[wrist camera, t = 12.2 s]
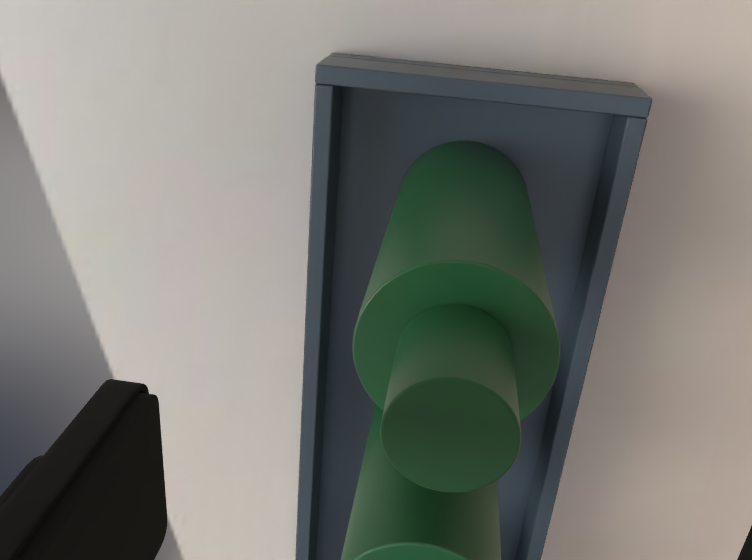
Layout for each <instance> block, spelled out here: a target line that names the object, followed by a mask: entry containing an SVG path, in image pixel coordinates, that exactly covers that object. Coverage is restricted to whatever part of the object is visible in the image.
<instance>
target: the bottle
mask: <svg viewBox="0 0 752 560" xmlns="http://www.w3.org/2000/svg"><path fill="white" fill-rule="evenodd" d="M382 415H383V410H382V409H381V408H380V407H379V406H377V405H376V403H375V407H374V412H373V416H372V421H371V425H370V430H369V435H368V439H367V444H366V448H365V453H364V457H363V462H362V466H361V471H360V475H359V480H358V484H357V489H356V493H355V498H354V502H353V507H352V511H351V516H350V520H349V525H348V529H347V534H346V538H345V543H344V547H343V552H342V556H341V560H501V544H500V520H499V496H498V480H496V481H495V482H493V483H492V484H489V485H487V486H485V487H483V488H480V489H477V490H473V491H468V492H459V493H450V492H441V491H436V490H431V489H428V488H425V487H423V486H420V485H418V484H416V483H414V482H412V481H411V480H409V479H408V478H406V477H405V476H403V475H402V474H401V473H400V472H399V471H398V470H397V469H396V468H395V467H394V466H393V465H392V463H391V462H390V460H389V459H388V457H387V455H386V453H385V451H384V449H383V445H382V442H381V436H380V426H381V420H382Z"/></svg>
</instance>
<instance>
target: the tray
mask: <svg viewBox="0 0 752 560" xmlns="http://www.w3.org/2000/svg"><path fill="white" fill-rule="evenodd" d="M315 82H316V83H317V84H316V85H315V100H314V124H313V149H312V173H311V197H310V221H309V245H308V270H307V294H306V318H305V342H304V367H303V391H302V415H301V439H300V464H299V488H298V512H297V536H296V560H341V556H342V552H343V547H344V543H345V538H346V534H347V529H348V525H349V520H350V516H351V511H352V507H353V502H354V498H355V493H356V489H357V484H358V480H359V475H360V471H361V466H362V462H363V457H364V453H365V448H366V444H367V439H368V435H369V430H370V425H371V421H372V416H373V412H374V407H375V402H374V401H373V400H372V399H371V397H370V396H369V395H368V393H367V392H366V390H365V388H364V387H363V385H362V383H361V381H360V379H359V376H358V374H357V371H356V367H355V364H354V358H353V335H354V329H355V325H356V322H357V319H358V316H359V313H360V309H361V306H362V303H363V300H364V297H365V294H366V291H367V288H368V285H369V282H370V278H371V275H372V272H373V269H374V266H375V263H376V260H377V257H378V254H379V250H380V247H381V244H382V241H383V238H384V235H385V232H386V229H387V226H388V222H389V219H390V216H391V213H392V210H393V207H394V204H395V201H396V198H397V195H398V191H399V188H400V185H401V182H402V180H403V178H404V176H405V174H406V172H407V171H408V169H409V167H410V166H411V165H412V164H413V163H414V162H415V160H417V159H418V158H419V157H420V156H421V155H422V154H424V153H425V152H427V151H428V150H430V149H432V148H434V147H436V146H438V145H441V144H444V143H448V142H453V141H473V142H479V143H482V144H486V145H489V146H491V147H493V148H495V149H497V150H498V151H500V152H502V153H503V154H504V155H506V156H507V157H508V158H509V159H510V160H511V161H512V162H513V163H514V164H515V165H516V167H517V168H518V170H519V171H520V173H521V175H522V177H523V179H524V181H525V185H526V188H527V192H528V197H529V201H530V206H531V211H532V215H533V220H534V225H535V229H536V234H537V239H538V243H539V248H540V252H541V257H542V262H543V266H544V271H545V276H546V280H547V285H548V290H549V294H550V299H551V304H552V308H553V313H554V317H555V322H556V327H557V331H558V337H559V343H560V359H559V366H558V370H557V374H556V377H555V380H554V382H553V384H552V386H551V388H550V390H549V392H548V393H547V395H546V396H545V398H544V399H543V401H542V402H541V403H540V404H539V405H538V406H537V408H536V409H535V410H534V411H532V412H531V413H530V414H529V415H528V416H527V417H525V418H524V419H522V420H521V421H520V427H521V445H520V449H519V453H518V455H517V457H516V460H515V461H514V463H513V464H512V466H511V467H510V469H509V470H508V471H507V472H506V473H505V474H504V475H503V476H502V477H500V478H499V479H498V496H499V520H500V544H501V560H541V556H542V552H543V548H544V543H545V539H546V535H547V531H548V527H549V523H550V519H551V515H552V511H553V506H554V502H555V498H556V494H557V490H558V486H559V482H560V478H561V473H562V469H563V465H564V461H565V457H566V453H567V449H568V445H569V441H570V436H571V432H572V428H573V424H574V420H575V416H576V412H577V408H578V403H579V399H580V395H581V391H582V387H583V383H584V379H585V375H586V370H587V366H588V362H589V358H590V354H591V350H592V346H593V342H594V338H595V333H596V329H597V325H598V321H599V317H600V313H601V309H602V305H603V300H604V296H605V292H606V288H607V284H608V280H609V276H610V272H611V267H612V263H613V259H614V255H615V251H616V247H617V243H618V239H619V235H620V230H621V226H622V222H623V218H624V214H625V210H626V206H627V202H628V197H629V193H630V189H631V185H632V181H633V177H634V173H635V169H636V165H637V160H638V156H639V152H640V148H641V144H642V140H643V136H644V132H645V127H646V123H647V119H646V118H647V117H648V115H649V111H650V107H651V103H652V98H650V97H649V96H648V95H647V94H646V93H644V92H643V91H642V90H641V89H640V88H638V87H637V86H636V85H635V84H634V83H628V82H618V81H608V80H598V79H588V78H578V77H568V76H558V75H548V74H538V73H528V72H519V71H509V70H499V69H489V68H479V67H469V66H459V65H449V64H439V63H429V62H419V61H409V60H399V59H389V58H379V57H369V56H359V55H349V54H339V53H332V54H330V55H329V56H328V57H326V58H325V59H324V60H322V61H321V62H319V63H318V64H317V65H316V74H315Z"/></svg>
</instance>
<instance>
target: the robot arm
mask: <svg viewBox="0 0 752 560" xmlns="http://www.w3.org/2000/svg"><path fill="white" fill-rule="evenodd" d="M166 528H167V509H166V496H165V482H164V469H163V455H162V441H161V428H160V414H159V402H158V398H157V396H156V395H153V394H149V392H148V388H147V386H146V385H145V384H141V383H134V382H127V381H120V380H113V379H110V380H107V381H106V382H105V383H103V385H102V386H101V387H100V388H99V389H98V391H97V392H96V393H95V394H94V395H93V397H92V398H91V399H90V400H89V401H88V403H87V404H86V405H85V406H84V408H83V409H82V410H81V411H80V412H79V414H78V415H77V416H76V417H75V418H74V420H73V421H72V422H71V423H70V424H69V426H68V427H67V428H66V429H65V431H64V432H63V433H62V434H61V435H60V436H59V438H58V439H57V440H56V441H55V443H54V444H53V445H52V446H51V447H50V449H49V450H48V451H47V452H46V453H45V455H44V456H39V457H36V458H34V459H33V460H32V461H31V462H30V463H29V464H27V466H26V467H25V468H24V469H23V470H22V471H21V472H20V474H19V475H18V476H17V477H16V479H15V480H14V481H13V482H12V483H11V484H10V486H9V487H8V488H7V489H6V490H5V491H4V493H3V494H2V495H1V496H0V560H154V559H155V557H156V555H157V553H158V551H159V549H160V547H161V545H162V543H163V540H164V537H165V534H166ZM738 560H752V526H751V529H750V531H749V533H748V536H747V538H746V541H745V543H744V545H743V548H742V550H741V552H740V555H739V557H738Z"/></svg>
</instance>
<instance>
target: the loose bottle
mask: <svg viewBox="0 0 752 560" xmlns="http://www.w3.org/2000/svg"><path fill="white" fill-rule="evenodd" d="M353 358H354V364H355V367H356V371H357V374H358V376H359V379H360V381H361V383H362V385H363V387H364V388H365V390H366V392H367V393H368V395H369V396H370V397H371V399H372V400H373V401H374V402H375V403H376V405H377V406H379V407H380V408H381V409H382V410H383V415H382V420H381V426H380V436H381V442H382V445H383V449H384V451H385V453H386V455H387V457H388V459H389V460H390V462H391V463H392V465H393V466H394V467H395V468H396V469H397V470H398V471H399V472H400V473H401V474H402V475H403V476H405V477H406V478H408V479H409V480H411V481H412V482H414V483H416V484H418V485H420V486H423V487H425V488H428V489H431V490H436V491H441V492H450V493H459V492H468V491H473V490H477V489H480V488H483V487H485V486H487V485H489V484H492V483H493V482H495V481H496V480H498V479H499V478H500V477H502V476H503V475H504V474H505V473H506V472H507V471H508V470H509V469H510V467H511V466H512V464H513V463H514V461H515V460H516V457H517V455H518V453H519V449H520V445H521V427H520V421H521V420H522V419H524V418H525V417H527V416H528V415H529V414H530V413H531V412H532V411H534V410H535V409H536V408H537V406H538V405H539V404H540V403H541V402H542V401H543V399H544V398H545V396H546V395H547V393H548V392H549V390H550V388H551V386H552V384H553V382H554V380H555V377H556V374H557V370H558V366H559V359H560V343H559V337H558V331H557V327H556V322H555V317H554V313H553V308H552V304H551V299H550V294H549V290H548V285H547V280H546V276H545V271H544V266H543V262H542V257H541V252H540V248H539V243H538V239H537V234H536V229H535V225H534V220H533V215H532V211H531V206H530V201H529V197H528V192H527V188H526V185H525V181H524V179H523V177H522V175H521V173H520V171H519V170H518V168H517V167H516V165H515V164H514V163H513V162H512V161H511V160H510V159H509V158H508V157H507V156H506V155H504V154H503V153H502V152H500V151H498V150H497V149H495V148H493V147H491V146H489V145H486V144H482V143H479V142H473V141H453V142H448V143H444V144H441V145H438V146H436V147H434V148H432V149H430V150H428V151H427V152H425V153H424V154H422V155H421V156H420V157H419V158H418V159H417V160H415V162H414V163H413V164H412V165H411V166H410V167H409V169H408V171H407V172H406V174H405V176H404V178H403V180H402V182H401V185H400V188H399V191H398V195H397V198H396V201H395V204H394V207H393V210H392V213H391V216H390V219H389V222H388V226H387V229H386V232H385V235H384V238H383V241H382V244H381V247H380V250H379V254H378V257H377V260H376V263H375V266H374V269H373V272H372V275H371V278H370V282H369V285H368V288H367V291H366V294H365V297H364V300H363V303H362V306H361V309H360V313H359V316H358V319H357V322H356V325H355V329H354V335H353Z"/></svg>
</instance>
